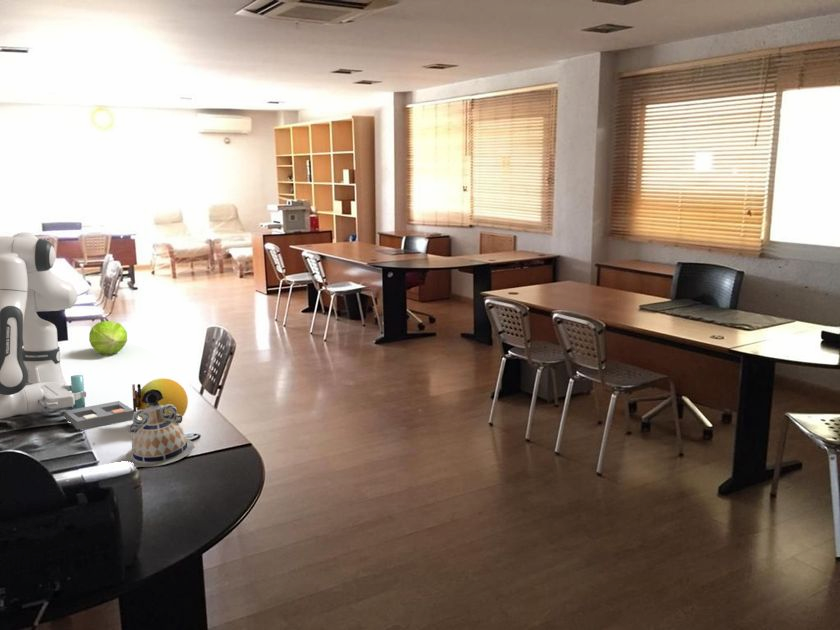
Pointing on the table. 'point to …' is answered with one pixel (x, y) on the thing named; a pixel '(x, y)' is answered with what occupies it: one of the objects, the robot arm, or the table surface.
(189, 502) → the table surface
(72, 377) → the teal rounded cylinder
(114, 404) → the socket board
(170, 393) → the emoji
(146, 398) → the figurine
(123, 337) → the lettuce
